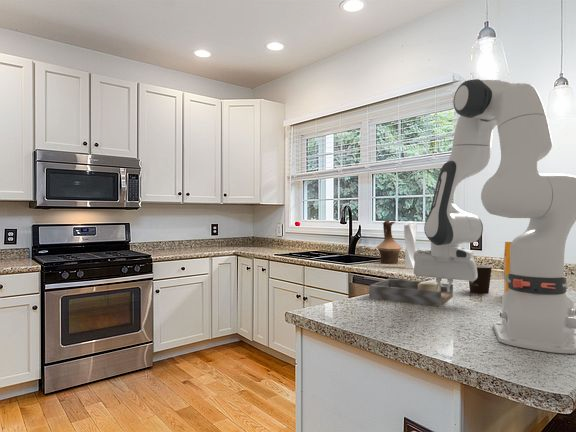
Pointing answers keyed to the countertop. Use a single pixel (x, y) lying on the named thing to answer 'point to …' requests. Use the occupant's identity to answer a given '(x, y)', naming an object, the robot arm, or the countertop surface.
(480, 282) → the coffee mug
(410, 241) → the skyscraper
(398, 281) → the grey tray
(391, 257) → the brown vase
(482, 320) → the countertop surface
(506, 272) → the orange juice
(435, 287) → the birch block
